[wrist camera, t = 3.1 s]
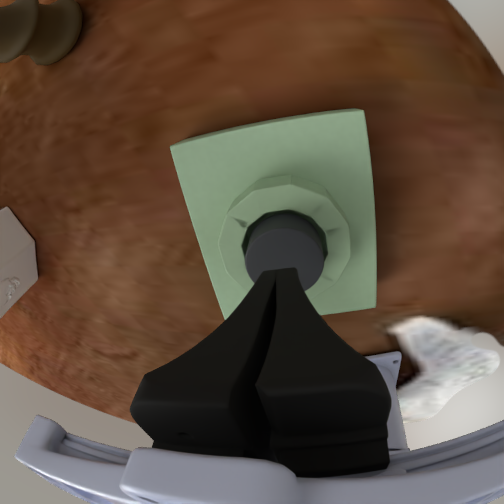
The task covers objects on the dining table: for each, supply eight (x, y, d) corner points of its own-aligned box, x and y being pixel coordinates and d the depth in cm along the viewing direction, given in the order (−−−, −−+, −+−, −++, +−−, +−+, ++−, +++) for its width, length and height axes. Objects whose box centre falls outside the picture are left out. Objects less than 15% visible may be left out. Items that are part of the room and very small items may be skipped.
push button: (324, 271, 16) (327, 291, 14) (257, 280, 16) (253, 300, 15) (316, 207, 14) (319, 222, 12) (242, 219, 15) (236, 234, 13)
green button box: (370, 288, 20) (382, 326, 17) (231, 304, 22) (221, 343, 19) (355, 108, 15) (374, 111, 11) (182, 140, 17) (155, 153, 13)
